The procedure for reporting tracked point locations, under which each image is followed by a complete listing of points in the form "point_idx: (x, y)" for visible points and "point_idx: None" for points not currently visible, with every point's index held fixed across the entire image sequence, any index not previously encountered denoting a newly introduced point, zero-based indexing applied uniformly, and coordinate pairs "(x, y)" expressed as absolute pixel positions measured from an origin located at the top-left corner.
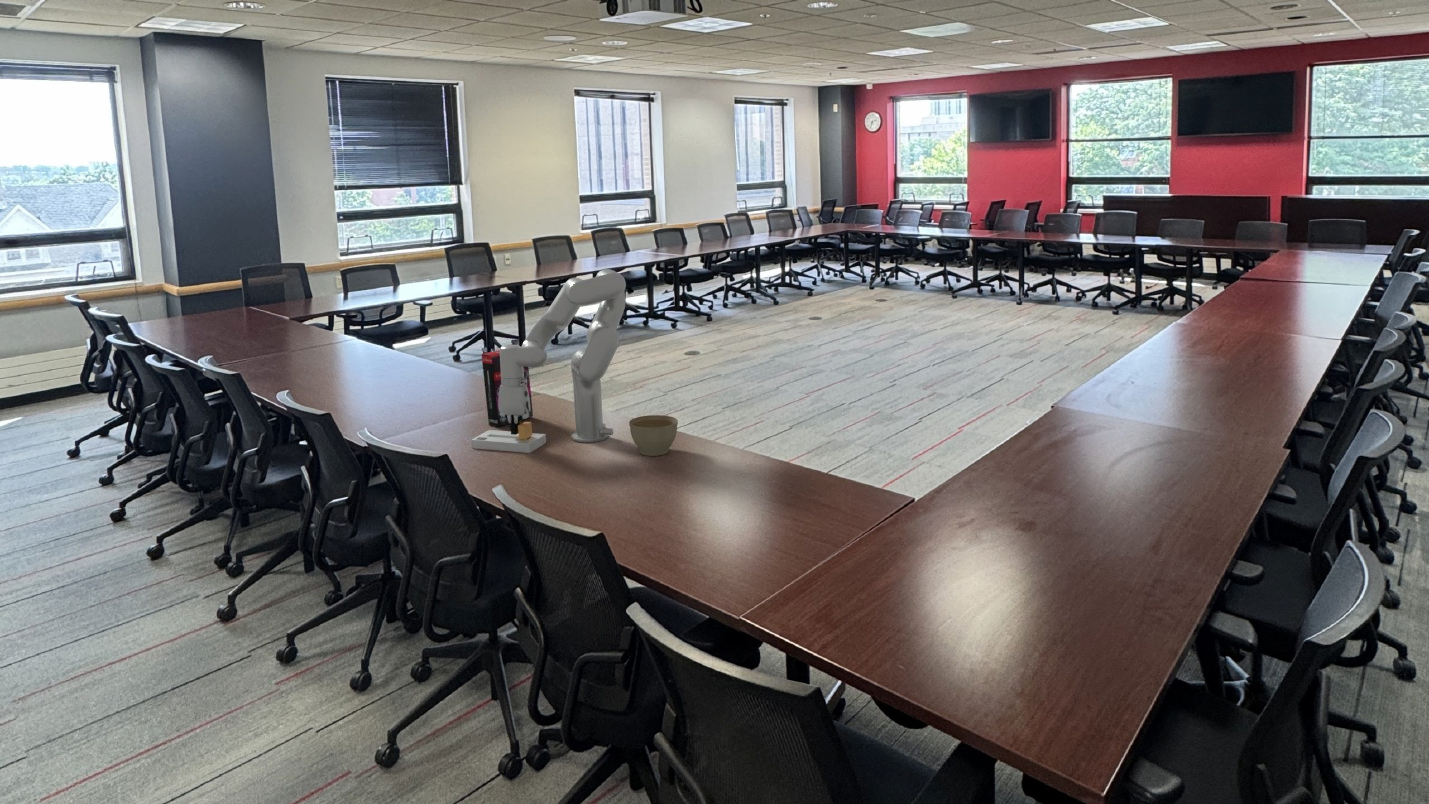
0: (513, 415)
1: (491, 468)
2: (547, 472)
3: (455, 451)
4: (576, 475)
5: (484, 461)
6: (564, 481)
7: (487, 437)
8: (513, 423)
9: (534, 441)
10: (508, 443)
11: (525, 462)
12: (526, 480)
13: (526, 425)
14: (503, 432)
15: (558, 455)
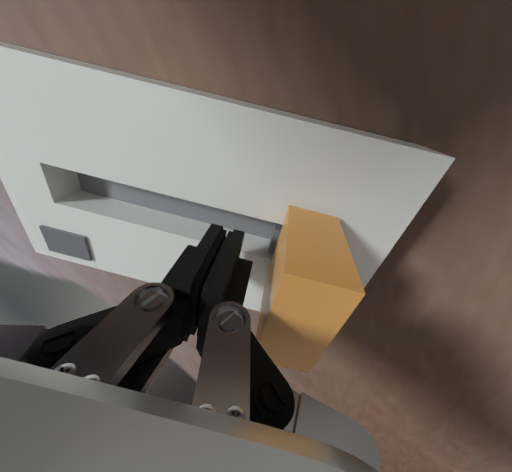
0: (130, 363)
1: None
2: (394, 416)
3: (50, 261)
4: (473, 439)
5: None
6: (432, 449)
7: (77, 223)
8: (194, 327)
9: None
10: None
11: (325, 363)
12: None
13: (320, 349)
14: (89, 111)
15: (455, 331)
